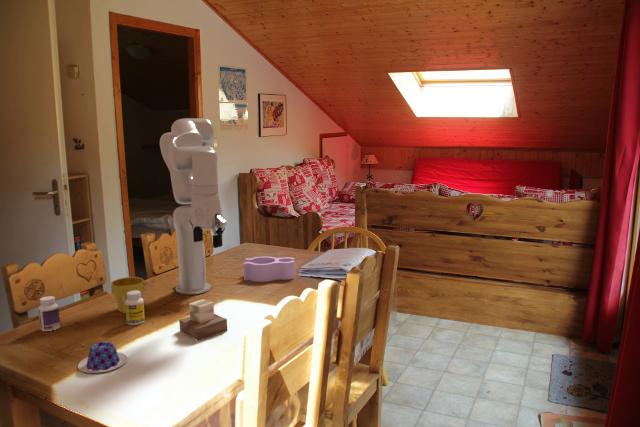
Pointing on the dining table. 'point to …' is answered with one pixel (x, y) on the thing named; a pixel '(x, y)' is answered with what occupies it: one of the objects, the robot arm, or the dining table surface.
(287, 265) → the lavender double-well tray
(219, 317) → the walnut block
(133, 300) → the supplement bottle
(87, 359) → the purple patterned hat
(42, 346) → the dining table surface
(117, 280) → the plant pot
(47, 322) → the pill bottle
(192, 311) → the maple block
